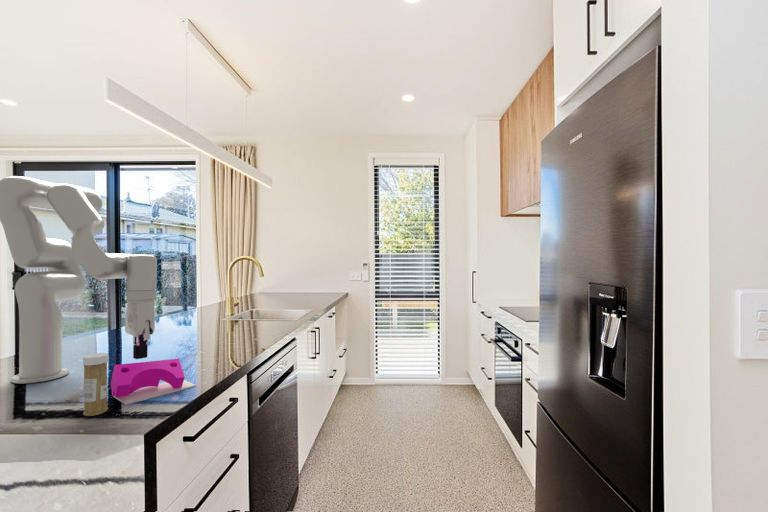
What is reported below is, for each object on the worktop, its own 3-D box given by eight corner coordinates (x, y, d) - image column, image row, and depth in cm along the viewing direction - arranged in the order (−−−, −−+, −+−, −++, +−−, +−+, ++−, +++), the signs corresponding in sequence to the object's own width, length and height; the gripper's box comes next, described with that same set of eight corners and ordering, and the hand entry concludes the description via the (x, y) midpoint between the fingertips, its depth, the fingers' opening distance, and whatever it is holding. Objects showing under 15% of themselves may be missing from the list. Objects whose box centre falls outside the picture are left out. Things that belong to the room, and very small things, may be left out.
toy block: (110, 383, 98) (113, 405, 93) (114, 364, 96) (117, 385, 91) (174, 375, 109) (179, 394, 104) (178, 358, 107) (184, 377, 102)
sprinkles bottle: (111, 411, 88) (112, 353, 88) (88, 418, 84) (89, 358, 84) (101, 407, 90) (101, 351, 90) (78, 414, 86) (79, 355, 86)
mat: (112, 396, 97) (112, 394, 97) (181, 379, 111) (181, 378, 111) (125, 404, 92) (125, 403, 92) (195, 386, 105) (195, 384, 105)
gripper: (118, 295, 113) (116, 356, 113) (136, 299, 104) (135, 365, 104) (146, 293, 119) (144, 351, 119) (165, 297, 110) (164, 360, 109)
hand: (140, 357), depth 111 cm, fingers closed
